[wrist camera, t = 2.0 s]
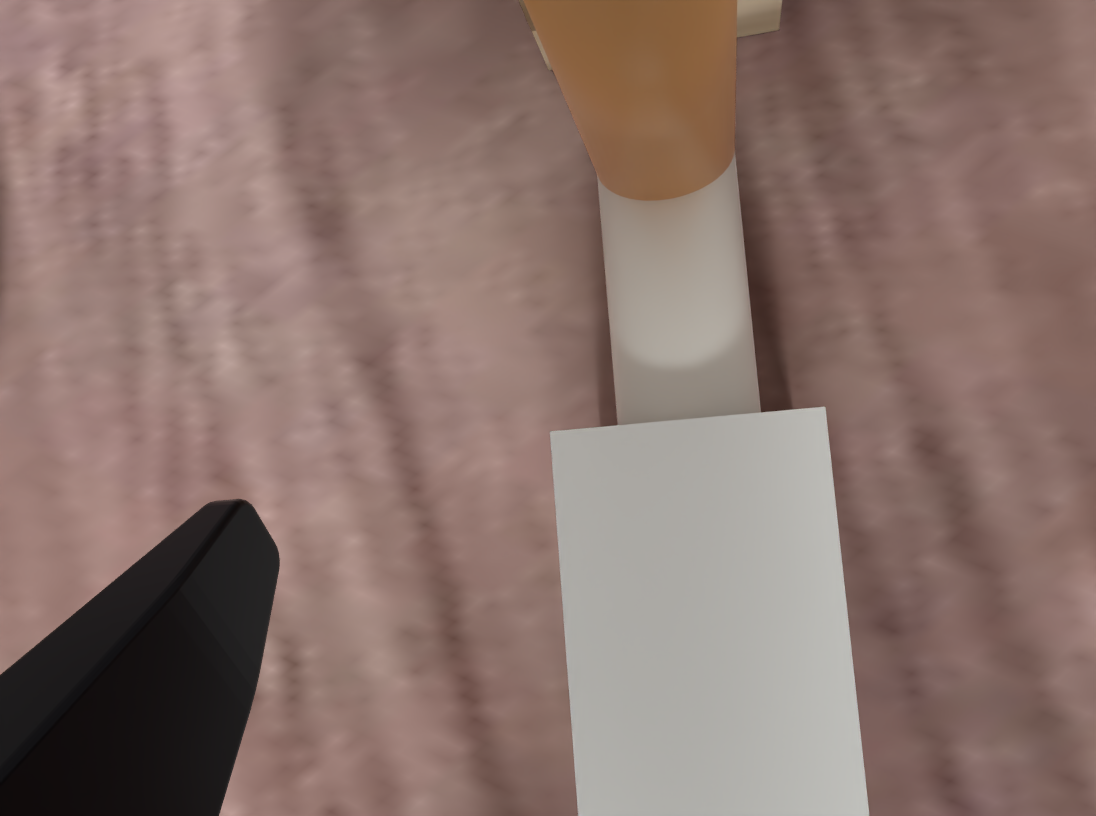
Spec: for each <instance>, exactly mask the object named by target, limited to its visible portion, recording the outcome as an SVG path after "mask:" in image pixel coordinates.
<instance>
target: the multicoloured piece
mask: <svg viewBox="0 0 1096 816" xmlns="http://www.w3.org/2000/svg"><path fill="white" fill-rule="evenodd" d="M523 1H524V3H525V6H526V8H527V10H528V13H529V15H530V18H531V20H532V22H533V25H534V27H535V29H536V32H537V34H538V36H539V39H540V41H541V43H542V46H543V48H544V50H545V53H546V55H547V58H548V60H549V62H550V65H551V67H552V69H553V72H554V74H555V76H556V79H557V81H558V83H559V86H560V88H561V90H562V93H563V95H564V98H565V100H566V102H567V105H568V107H569V109H570V112H571V114H572V116H573V119H574V121H575V123H576V126H577V128H578V130H579V133H580V135H581V138H582V140H583V142H584V145H585V147H586V149H587V152H588V154H589V156H590V159H591V161H592V163H593V166H594V168H595V170H596V173H597V180H598V192H599V204H600V216H601V228H602V241H603V253H604V265H605V277H606V289H607V301H608V314H609V326H610V338H611V350H612V362H613V374H614V386H615V399H616V411H617V423H618V425H627V424H638V423H649V422H660V421H671V420H682V419H694V418H705V417H716V416H727V415H738V414H749V413H761V407H760V397H759V387H758V377H757V367H756V357H755V347H754V337H753V327H752V317H751V307H750V297H749V287H748V277H747V267H746V257H745V247H744V237H743V227H742V217H741V207H740V197H739V187H738V177H737V167H736V157H735V103H736V48H737V0H523Z"/></svg>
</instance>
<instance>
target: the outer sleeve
mask: <svg viewBox="0 0 1096 816" xmlns="http://www.w3.org/2000/svg"><path fill="white" fill-rule="evenodd" d="M550 441H551V454H552V468H553V481H554V495H555V508H556V522H557V535H558V549H559V562H560V576H561V589H562V603H563V616H564V630H565V644H566V657H567V671H568V684H569V698H570V711H571V725H572V738H573V752H574V765H575V779H576V792H577V806H578V816H869V808H868V799H867V790H866V780H865V771H864V762H863V752H862V743H861V734H860V725H859V715H858V706H857V697H856V688H855V678H854V669H853V660H852V650H851V641H850V632H849V623H848V613H847V604H846V595H845V586H844V576H843V567H842V558H841V548H840V539H839V530H838V521H837V511H836V502H835V493H834V484H833V474H832V465H831V456H830V446H829V437H828V428H827V419H826V409H825V407H817V408H805V409H794V410H783V411H772V412H761V413H749V414H738V415H727V416H716V417H705V418H694V419H682V420H671V421H660V422H649V423H638V424H627V425H615V426H604V427H593V428H582V429H571V430H560V431H550Z"/></svg>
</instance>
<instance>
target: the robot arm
mask: <svg viewBox="0 0 1096 816" xmlns="http://www.w3.org/2000/svg"><path fill="white" fill-rule="evenodd" d="M279 566H280V558H279V552H278V549H277V546H276V544H275V542H274V541H273V539H272V537H271V536H270V534H269V532H268V530H267V529H266V527H265V525H264V524H263V522H262V520H261V519H260V517H259V515H258V514H257V512H256V510H255V509H254V507H253V506H252V504H250V503H249V502H248V501H246V500H242V499H233V500H221V501H214V502H210V503H208V504H206V505H205V506H204V507H202V508H201V509H200V510H199V511H198V512H196V513H195V514H194V515H193V516H192V517H190V518H189V519H188V520H187V521H186V522H184V523H183V524H182V525H181V526H180V527H178V528H177V529H176V530H175V531H173V532H172V533H171V534H170V535H169V536H167V537H166V538H165V539H164V540H163V541H161V542H160V543H159V544H158V545H157V546H155V547H154V548H153V549H152V550H151V551H149V552H148V553H147V554H146V555H145V556H143V557H142V558H141V559H140V560H139V561H137V562H136V563H135V564H134V565H132V566H131V567H130V568H129V569H128V570H126V571H125V572H124V573H123V574H122V575H120V576H119V577H118V578H117V579H116V580H114V581H113V582H112V583H111V584H110V585H108V586H107V587H106V588H105V589H104V590H102V591H101V592H100V593H99V594H97V595H96V596H95V597H94V598H93V599H91V600H90V601H89V602H88V603H87V604H85V605H84V606H83V607H82V608H81V609H79V610H78V611H77V612H76V613H75V614H73V615H72V616H71V617H70V618H69V619H67V620H66V621H65V622H64V623H62V624H61V625H60V626H59V627H58V628H56V629H55V630H54V631H53V632H52V633H50V634H49V635H48V636H47V637H46V638H44V639H43V640H42V641H41V642H40V643H38V644H37V645H36V646H35V647H34V648H32V649H31V650H30V651H29V652H27V653H26V654H25V655H24V656H23V657H21V658H20V659H19V660H18V661H17V662H15V663H14V664H13V665H12V666H11V667H9V668H8V669H7V670H6V671H5V672H3V673H2V674H1V675H0V816H219V813H220V810H221V807H222V803H223V800H224V797H225V793H226V790H227V787H228V783H229V780H230V777H231V773H232V770H233V767H234V763H235V760H236V757H237V753H238V750H239V747H240V743H241V740H242V737H243V733H244V730H245V727H246V723H247V720H248V717H249V713H250V710H251V706H252V702H253V699H254V695H255V691H256V687H257V682H258V678H259V674H260V669H261V663H262V658H263V653H264V647H265V642H266V637H267V631H268V626H269V621H270V615H271V610H272V605H273V599H274V594H275V589H276V583H277V578H278V573H279Z"/></svg>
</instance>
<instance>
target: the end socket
mask: <svg viewBox="0 0 1096 816" xmlns="http://www.w3.org/2000/svg"><path fill="white" fill-rule="evenodd" d="M518 1H519V3H520V6H521V8H522V10H523V13H524V15H525V17H526V19H527V22H528V24H529V26H530V29H531V31H532V33H533V36H534V38H535V40H536V42H537V45H538V47H539V49H540V52H541V54H542V56H543V59H544V61H545V63H546V65H547V68H548V70H553V69H552V67H551V65H550V62H549V60H548V58H547V55H546V53H545V50H544V48H543V46H542V43H541V41H540V39H539V36H538V34H537V32H536V29H535V27H534V25H533V22H532V20H531V18H530V15H529V13H528V10H527V8H526V6H525V3H524V1H523V0H518ZM781 7H782V0H737V37H742V36H748V35H754V34H760V33H765V32H771V31H777V30H779V25H780V16H781Z"/></svg>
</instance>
